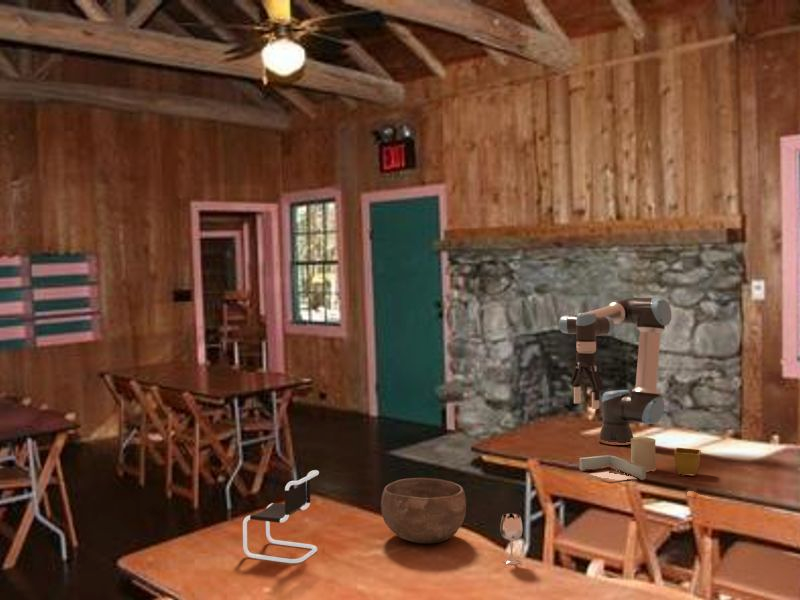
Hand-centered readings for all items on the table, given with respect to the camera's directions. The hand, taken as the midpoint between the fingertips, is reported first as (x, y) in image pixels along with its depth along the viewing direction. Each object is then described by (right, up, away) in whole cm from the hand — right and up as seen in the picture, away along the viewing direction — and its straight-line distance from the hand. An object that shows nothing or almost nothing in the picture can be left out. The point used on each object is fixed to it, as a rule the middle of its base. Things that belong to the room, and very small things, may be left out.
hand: (586, 405), depth 313 cm
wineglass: (-44, -27, -104) cm, 116 cm away
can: (+20, -23, -8) cm, 32 cm away
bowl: (-67, -27, -86) cm, 112 cm away
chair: (-106, -28, -96) cm, 145 cm away
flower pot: (+34, -24, -17) cm, 44 cm away
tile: (+5, -24, -20) cm, 32 cm away
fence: (+6, -24, -16) cm, 29 cm away
